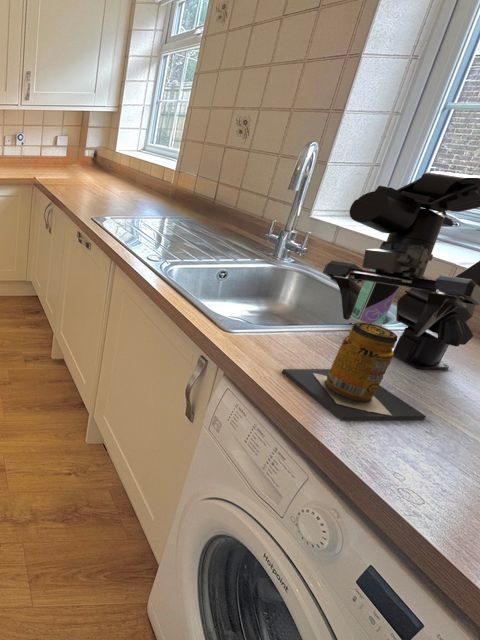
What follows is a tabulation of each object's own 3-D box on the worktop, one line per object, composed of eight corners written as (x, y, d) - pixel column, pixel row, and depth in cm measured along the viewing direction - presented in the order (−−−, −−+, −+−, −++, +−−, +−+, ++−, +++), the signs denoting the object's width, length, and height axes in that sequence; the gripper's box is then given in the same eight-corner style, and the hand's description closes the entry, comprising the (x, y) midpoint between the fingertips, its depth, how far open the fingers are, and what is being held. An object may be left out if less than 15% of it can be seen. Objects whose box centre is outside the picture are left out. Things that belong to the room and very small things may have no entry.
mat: (353, 372, 76) (354, 368, 75) (424, 419, 64) (426, 415, 64) (281, 372, 75) (282, 369, 74) (340, 420, 63) (342, 416, 63)
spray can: (373, 328, 91) (411, 244, 84) (344, 317, 96) (378, 236, 89) (386, 324, 93) (424, 242, 86) (357, 313, 98) (391, 234, 91)
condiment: (361, 383, 71) (389, 323, 67) (391, 416, 64) (425, 351, 59) (312, 374, 73) (336, 315, 69) (335, 405, 66) (364, 341, 61)
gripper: (324, 222, 76) (295, 301, 76) (479, 233, 59) (441, 334, 59) (350, 241, 81) (322, 315, 81) (499, 256, 64) (464, 350, 64)
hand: (378, 327), depth 71 cm, fingers open, 9 cm apart
